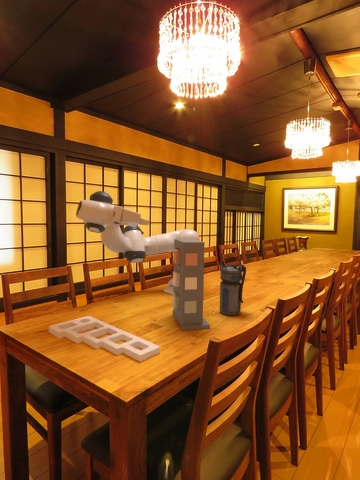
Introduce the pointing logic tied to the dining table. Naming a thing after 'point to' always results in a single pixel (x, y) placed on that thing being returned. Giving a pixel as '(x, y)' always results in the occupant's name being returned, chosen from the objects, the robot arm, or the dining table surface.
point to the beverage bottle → (231, 288)
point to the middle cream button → (176, 279)
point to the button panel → (190, 284)
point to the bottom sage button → (176, 301)
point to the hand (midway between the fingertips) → (149, 223)
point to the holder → (88, 322)
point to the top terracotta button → (176, 256)
